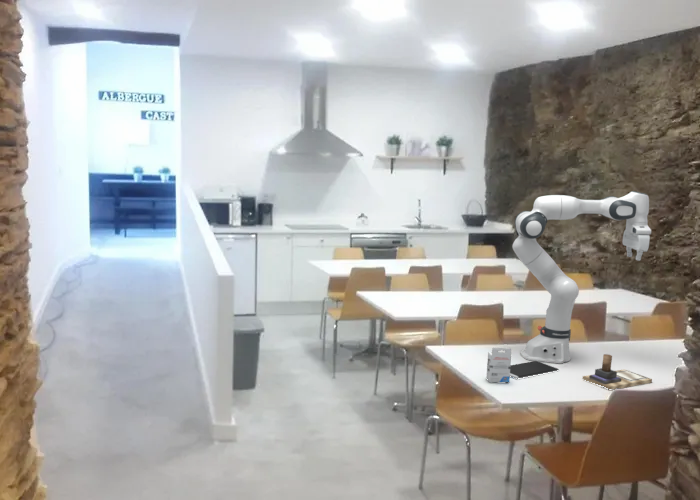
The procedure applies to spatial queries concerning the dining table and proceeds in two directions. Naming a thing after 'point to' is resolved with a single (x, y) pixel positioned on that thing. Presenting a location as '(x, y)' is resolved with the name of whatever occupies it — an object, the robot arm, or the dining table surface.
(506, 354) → the ink box
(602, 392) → the dining table surface
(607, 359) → the stamp
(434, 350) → the dining table surface
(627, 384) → the stamp board
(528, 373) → the black flat rectangular slab
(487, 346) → the dining table surface
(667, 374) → the dining table surface
